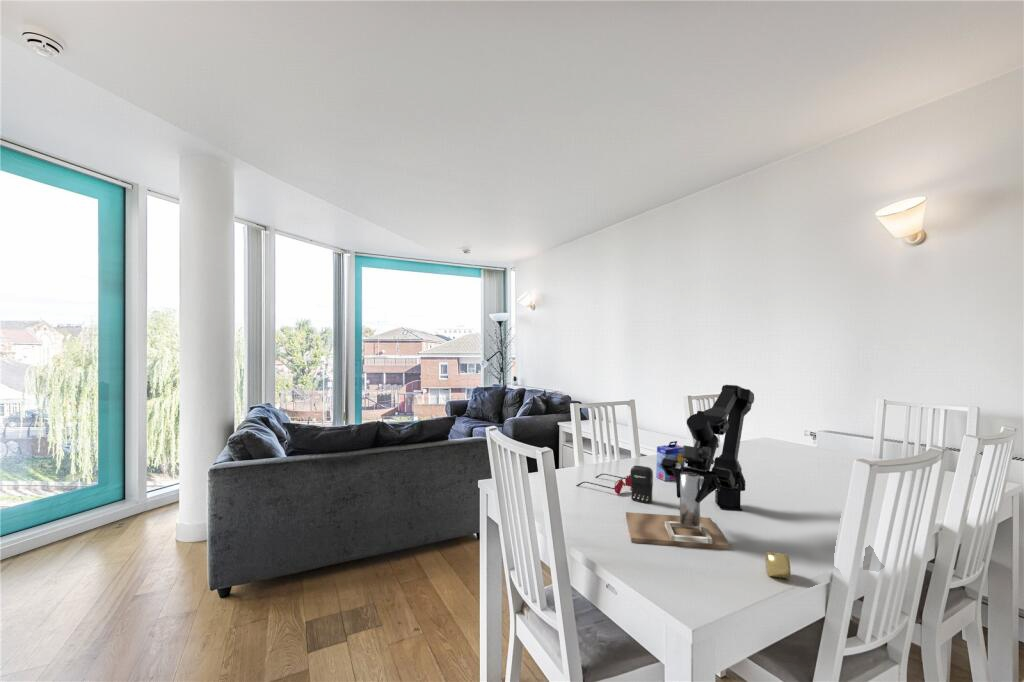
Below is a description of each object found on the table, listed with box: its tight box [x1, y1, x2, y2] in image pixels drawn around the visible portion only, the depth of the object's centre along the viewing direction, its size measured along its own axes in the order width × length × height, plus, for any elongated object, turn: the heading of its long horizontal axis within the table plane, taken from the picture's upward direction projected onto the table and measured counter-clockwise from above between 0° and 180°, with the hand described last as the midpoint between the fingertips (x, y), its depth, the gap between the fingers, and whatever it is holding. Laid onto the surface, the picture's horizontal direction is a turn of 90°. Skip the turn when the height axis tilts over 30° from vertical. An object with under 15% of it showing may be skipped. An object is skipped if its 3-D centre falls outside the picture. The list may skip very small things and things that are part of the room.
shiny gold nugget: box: [764, 551, 792, 580], centre depth 103 cm, size 5×5×4 cm
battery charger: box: [629, 464, 654, 504], centre depth 151 cm, size 7×4×11 cm, turn 56°
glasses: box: [575, 473, 632, 495], centre depth 166 cm, size 14×16×5 cm
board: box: [625, 512, 730, 551], centre depth 127 cm, size 24×18×2 cm
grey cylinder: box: [679, 472, 701, 526], centre depth 123 cm, size 5×5×13 cm
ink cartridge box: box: [655, 440, 686, 482], centre depth 176 cm, size 10×6×14 cm, turn 115°
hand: (687, 499), depth 122 cm, fingers closed on grey cylinder, 5 cm apart
